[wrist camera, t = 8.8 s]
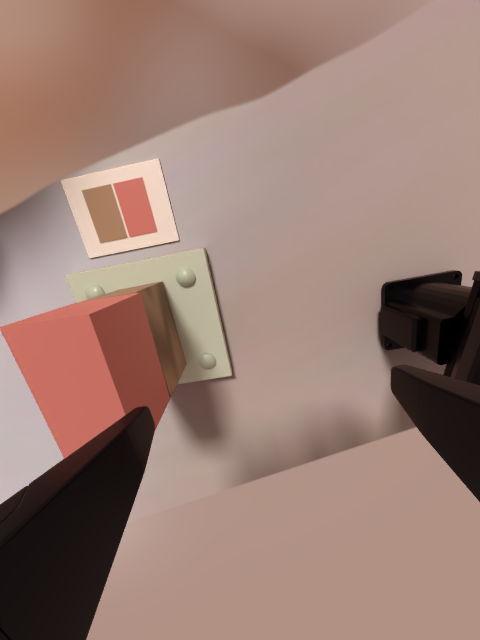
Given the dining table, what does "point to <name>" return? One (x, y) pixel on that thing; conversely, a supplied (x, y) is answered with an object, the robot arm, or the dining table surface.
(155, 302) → the brick walnut
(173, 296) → the plate
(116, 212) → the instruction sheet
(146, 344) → the brick red
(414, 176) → the dining table surface
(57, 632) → the robot arm
